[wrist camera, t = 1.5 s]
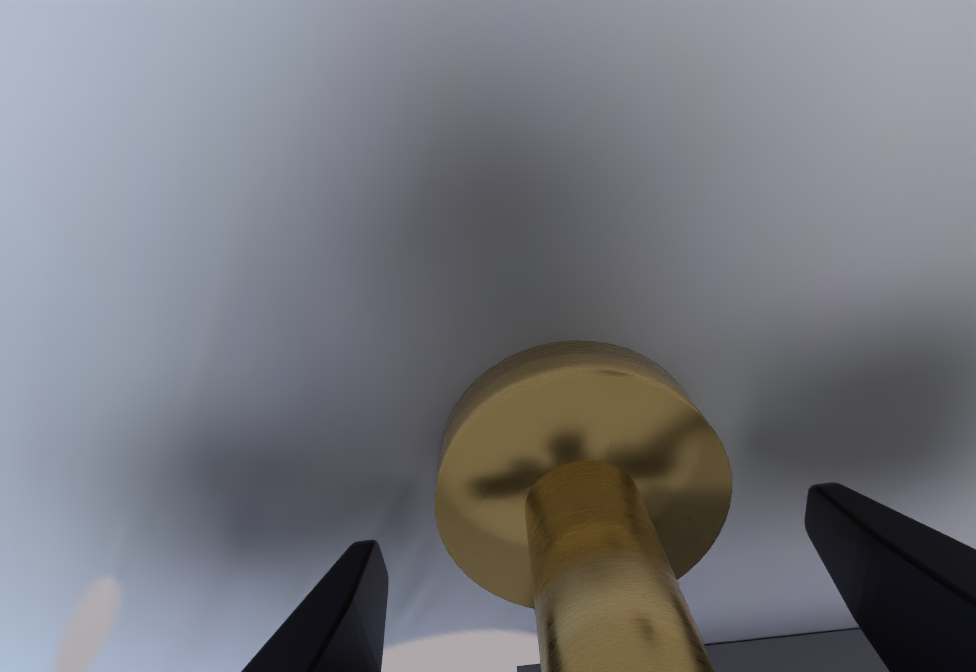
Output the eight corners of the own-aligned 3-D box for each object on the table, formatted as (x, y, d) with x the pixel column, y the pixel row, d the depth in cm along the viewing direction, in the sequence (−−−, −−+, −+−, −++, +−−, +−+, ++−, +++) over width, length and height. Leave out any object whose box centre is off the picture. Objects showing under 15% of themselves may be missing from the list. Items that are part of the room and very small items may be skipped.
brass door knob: (699, 320, 10) (1046, 634, 4) (696, 537, 12) (913, 957, 6) (417, 360, 10) (320, 711, 4) (464, 565, 12) (446, 991, 6)
